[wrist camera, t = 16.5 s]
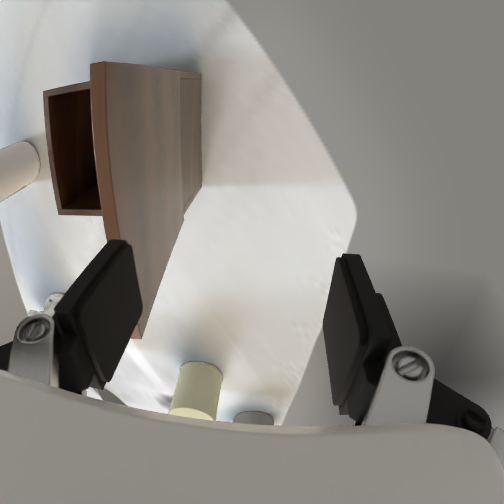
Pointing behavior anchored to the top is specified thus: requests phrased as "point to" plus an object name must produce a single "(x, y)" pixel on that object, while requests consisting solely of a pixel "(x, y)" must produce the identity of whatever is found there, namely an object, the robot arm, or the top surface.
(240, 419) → the coffee mug
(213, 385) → the can
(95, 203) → the bin
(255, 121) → the top surface
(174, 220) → the bin lid
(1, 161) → the milk bottle
